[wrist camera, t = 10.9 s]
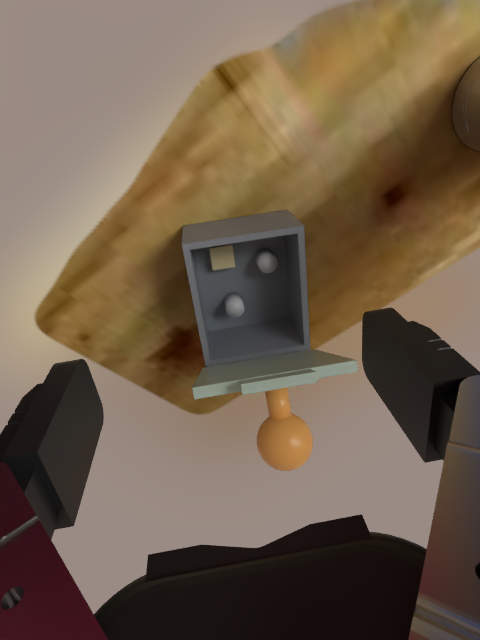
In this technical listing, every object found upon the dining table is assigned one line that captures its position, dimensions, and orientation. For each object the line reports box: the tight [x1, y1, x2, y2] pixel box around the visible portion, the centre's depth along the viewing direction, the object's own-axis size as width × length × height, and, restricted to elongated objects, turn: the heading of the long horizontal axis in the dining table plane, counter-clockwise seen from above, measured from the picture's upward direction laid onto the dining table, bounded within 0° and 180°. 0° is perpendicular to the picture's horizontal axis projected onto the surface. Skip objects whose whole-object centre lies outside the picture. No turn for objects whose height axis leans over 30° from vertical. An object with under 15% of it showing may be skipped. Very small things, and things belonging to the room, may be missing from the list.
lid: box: [192, 349, 358, 471], centre depth 34 cm, size 12×15×7 cm
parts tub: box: [182, 210, 310, 366], centre depth 42 cm, size 11×14×7 cm
